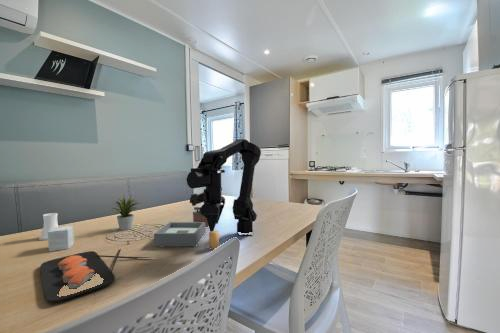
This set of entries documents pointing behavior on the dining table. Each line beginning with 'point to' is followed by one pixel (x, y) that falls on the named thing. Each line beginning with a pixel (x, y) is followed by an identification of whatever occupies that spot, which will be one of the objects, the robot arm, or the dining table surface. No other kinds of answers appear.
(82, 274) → the sushi plate
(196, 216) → the lighter
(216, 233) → the peg
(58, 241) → the product box
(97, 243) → the dining table surface
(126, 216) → the house plant
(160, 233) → the box
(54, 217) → the salt shaker
